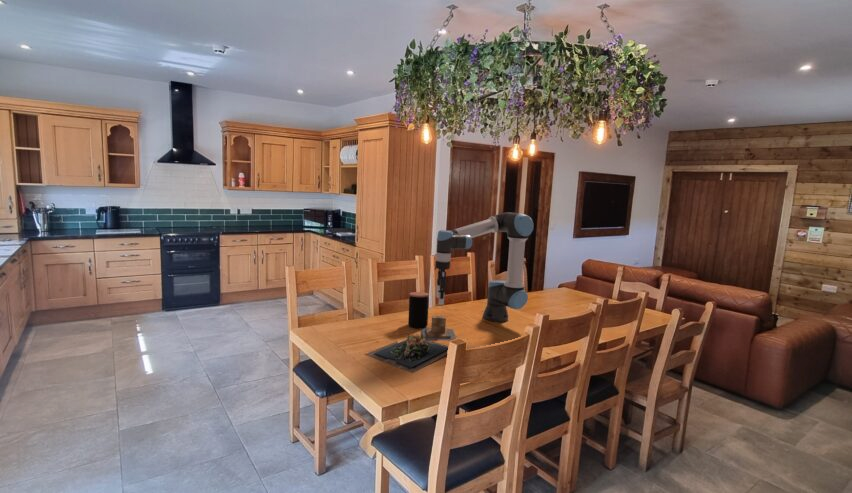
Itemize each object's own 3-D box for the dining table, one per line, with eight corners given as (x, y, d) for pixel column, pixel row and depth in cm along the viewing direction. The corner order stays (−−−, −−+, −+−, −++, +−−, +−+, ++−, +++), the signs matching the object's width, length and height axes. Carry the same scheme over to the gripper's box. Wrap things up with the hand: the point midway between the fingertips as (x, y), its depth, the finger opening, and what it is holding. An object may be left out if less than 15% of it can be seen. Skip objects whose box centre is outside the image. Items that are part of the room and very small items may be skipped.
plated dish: (411, 334, 228) (412, 321, 227) (457, 349, 212) (458, 335, 211) (364, 355, 200) (364, 340, 199) (413, 375, 184) (414, 358, 183)
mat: (452, 330, 241) (452, 329, 241) (456, 342, 224) (457, 340, 224) (419, 328, 240) (419, 327, 240) (421, 340, 222) (421, 339, 222)
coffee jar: (428, 324, 248) (429, 292, 246) (426, 329, 237) (427, 296, 236) (409, 323, 249) (410, 291, 247) (406, 328, 238) (408, 295, 237)
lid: (447, 330, 238) (449, 314, 237) (450, 338, 226) (451, 321, 225) (425, 329, 237) (426, 313, 236) (427, 337, 225) (428, 320, 224)
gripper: (433, 256, 238) (430, 294, 241) (437, 264, 214) (434, 307, 217) (447, 257, 239) (444, 295, 242) (453, 265, 214) (449, 308, 217)
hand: (439, 301), depth 229 cm, fingers open, 13 cm apart
